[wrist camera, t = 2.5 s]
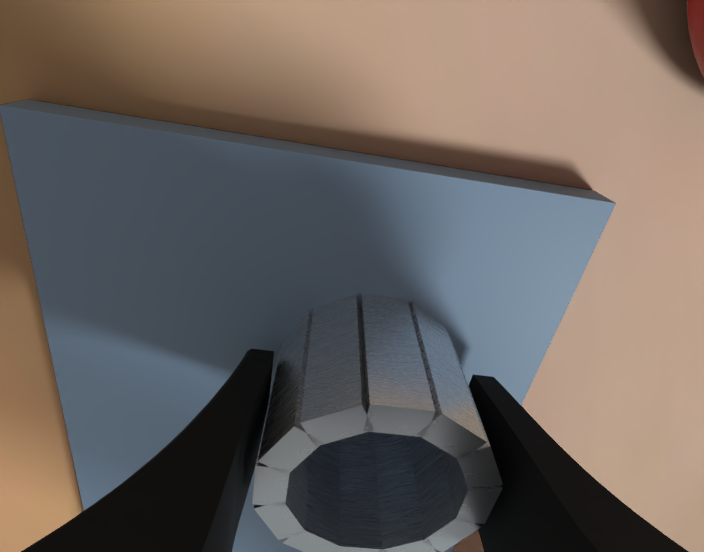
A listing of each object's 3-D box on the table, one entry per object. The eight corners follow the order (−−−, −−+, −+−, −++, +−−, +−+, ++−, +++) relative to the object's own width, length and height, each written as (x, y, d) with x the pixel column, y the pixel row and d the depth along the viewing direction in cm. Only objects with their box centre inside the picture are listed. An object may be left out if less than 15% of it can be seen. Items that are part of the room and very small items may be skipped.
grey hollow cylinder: (478, 308, 12) (535, 422, 8) (431, 440, 14) (460, 572, 11) (286, 283, 11) (261, 392, 8) (272, 424, 14) (247, 556, 10)
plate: (594, 190, 11) (708, 257, 8) (399, 634, 22) (410, 744, 19) (28, 99, 10) (-144, 129, 6) (121, 618, 21) (76, 732, 18)
